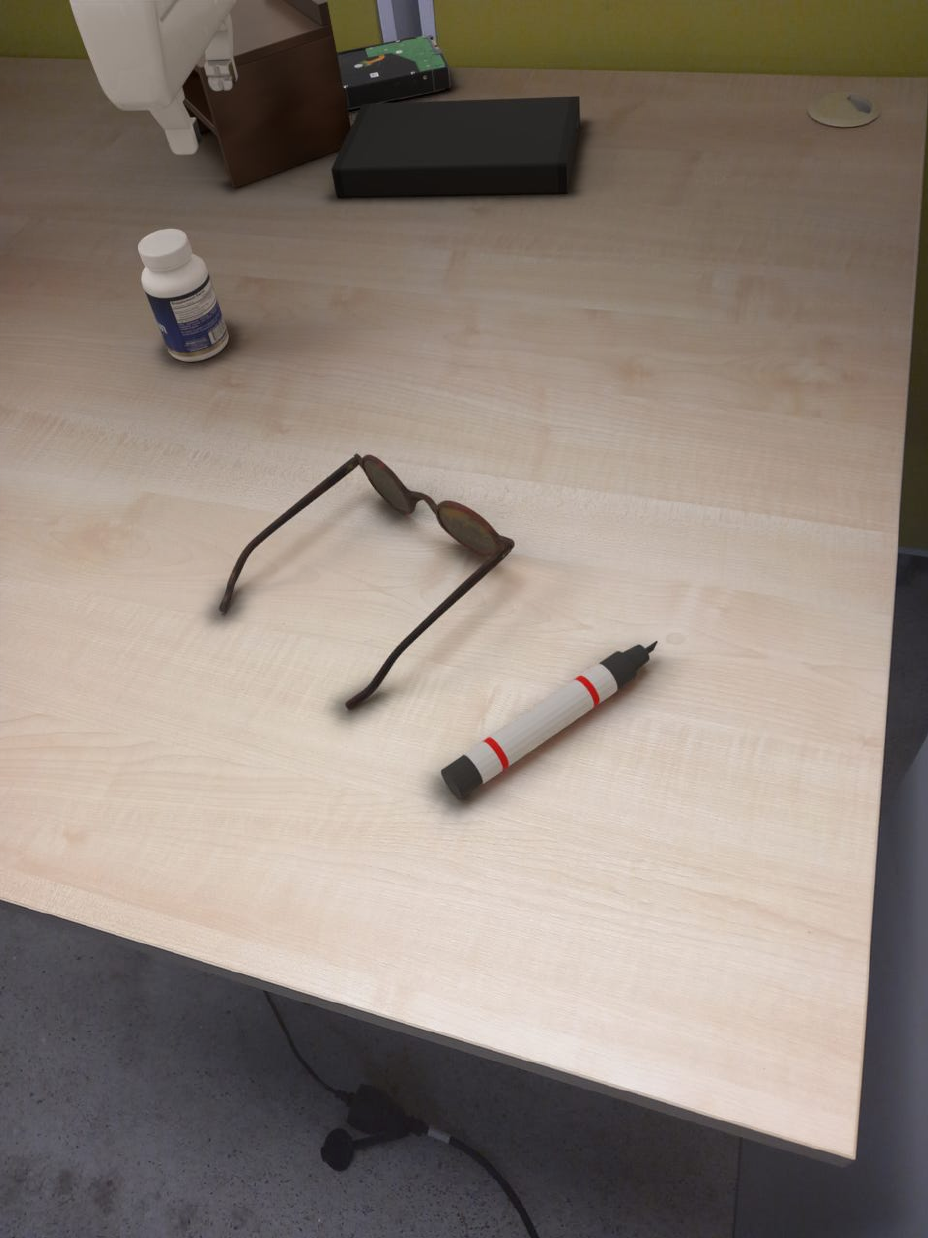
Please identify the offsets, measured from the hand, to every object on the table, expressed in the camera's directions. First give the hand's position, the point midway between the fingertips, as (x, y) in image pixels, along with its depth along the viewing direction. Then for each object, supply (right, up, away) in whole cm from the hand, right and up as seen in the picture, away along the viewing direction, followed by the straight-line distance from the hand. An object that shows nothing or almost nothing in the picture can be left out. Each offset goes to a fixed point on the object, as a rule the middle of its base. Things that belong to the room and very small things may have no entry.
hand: (207, 116), depth 71 cm
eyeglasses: (+11, -33, -3) cm, 35 cm away
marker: (+23, -41, -11) cm, 48 cm away
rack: (-4, +18, +42) cm, 45 cm away
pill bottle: (-5, -11, +18) cm, 22 cm away
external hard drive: (+18, +12, +34) cm, 40 cm away
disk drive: (+8, +27, +48) cm, 55 cm away
